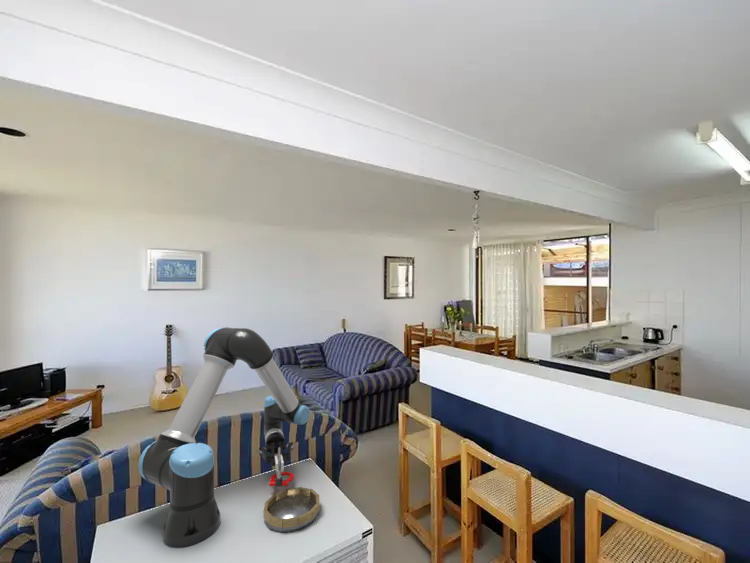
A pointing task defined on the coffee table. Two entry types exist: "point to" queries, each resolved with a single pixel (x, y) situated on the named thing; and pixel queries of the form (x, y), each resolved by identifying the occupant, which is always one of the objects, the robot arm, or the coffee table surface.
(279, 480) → the tow hook
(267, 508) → the wooden rimmed bowl
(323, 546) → the coffee table surface
